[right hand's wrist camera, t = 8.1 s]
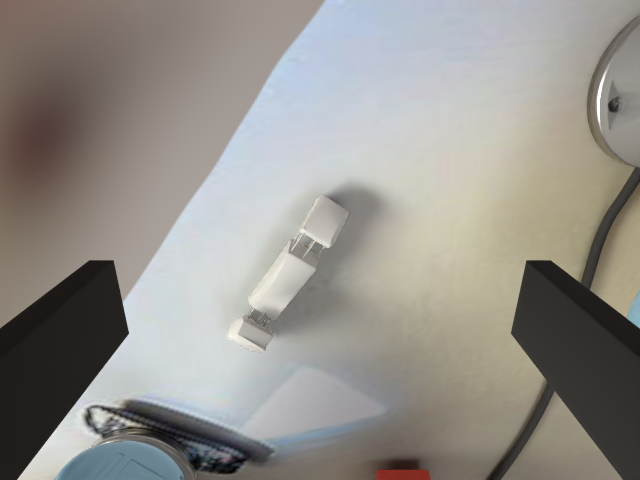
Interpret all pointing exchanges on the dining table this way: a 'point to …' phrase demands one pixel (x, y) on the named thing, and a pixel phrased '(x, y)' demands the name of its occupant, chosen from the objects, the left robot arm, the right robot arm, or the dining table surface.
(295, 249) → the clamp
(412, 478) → the block
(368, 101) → the dining table surface
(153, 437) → the left robot arm
